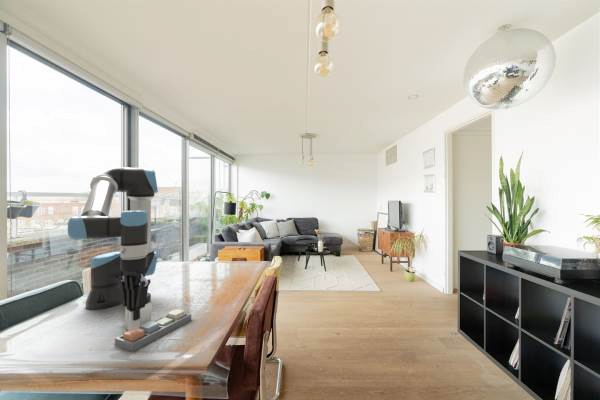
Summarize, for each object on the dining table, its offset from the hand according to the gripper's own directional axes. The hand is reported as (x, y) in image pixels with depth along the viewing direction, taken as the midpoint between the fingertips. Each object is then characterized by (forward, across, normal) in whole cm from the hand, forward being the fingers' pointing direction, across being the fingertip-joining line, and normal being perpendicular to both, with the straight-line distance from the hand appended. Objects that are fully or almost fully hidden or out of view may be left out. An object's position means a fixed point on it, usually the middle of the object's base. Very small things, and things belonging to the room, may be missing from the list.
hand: (133, 329), depth 84 cm
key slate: (+3, 0, +6) cm, 6 cm away
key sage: (+4, 0, +11) cm, 12 cm away
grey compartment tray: (+6, 0, +8) cm, 10 cm away
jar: (+6, -12, +9) cm, 16 cm away
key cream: (+3, 0, +17) cm, 17 cm away
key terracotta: (+3, 0, 0) cm, 3 cm away
